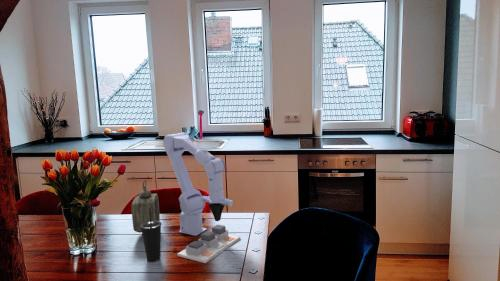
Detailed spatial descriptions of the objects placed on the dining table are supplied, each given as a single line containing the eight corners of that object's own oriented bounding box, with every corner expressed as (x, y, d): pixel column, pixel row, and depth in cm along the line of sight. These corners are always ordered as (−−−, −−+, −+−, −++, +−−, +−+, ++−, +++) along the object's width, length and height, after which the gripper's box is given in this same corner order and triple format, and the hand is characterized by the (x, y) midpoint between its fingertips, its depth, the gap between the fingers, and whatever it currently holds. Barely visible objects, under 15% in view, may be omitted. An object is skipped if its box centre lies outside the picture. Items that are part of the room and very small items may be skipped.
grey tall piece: (156, 242, 160) (151, 183, 157) (134, 244, 160) (128, 185, 156) (160, 229, 175) (156, 175, 171) (140, 230, 174) (135, 176, 170)
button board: (177, 256, 147) (177, 247, 147) (214, 233, 167) (214, 225, 167) (205, 263, 141) (204, 254, 140) (240, 238, 161) (240, 230, 160)
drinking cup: (153, 265, 140) (149, 212, 137) (138, 261, 144) (134, 209, 141) (168, 257, 147) (164, 206, 143) (153, 253, 151) (149, 203, 147)
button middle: (200, 241, 153) (200, 234, 153) (207, 237, 157) (206, 230, 156) (209, 243, 151) (208, 236, 151) (215, 239, 155) (214, 232, 154)
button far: (212, 234, 160) (211, 227, 159) (217, 231, 163) (217, 224, 163) (220, 236, 158) (219, 229, 157) (225, 232, 161) (225, 226, 161)
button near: (188, 252, 147) (188, 244, 147) (195, 247, 151) (195, 240, 150) (197, 254, 145) (196, 246, 145) (203, 249, 149) (203, 242, 148)
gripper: (195, 188, 158) (197, 220, 160) (225, 193, 150) (226, 226, 152) (206, 184, 163) (208, 215, 166) (235, 188, 156) (236, 220, 158)
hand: (217, 220), depth 159 cm, fingers closed
